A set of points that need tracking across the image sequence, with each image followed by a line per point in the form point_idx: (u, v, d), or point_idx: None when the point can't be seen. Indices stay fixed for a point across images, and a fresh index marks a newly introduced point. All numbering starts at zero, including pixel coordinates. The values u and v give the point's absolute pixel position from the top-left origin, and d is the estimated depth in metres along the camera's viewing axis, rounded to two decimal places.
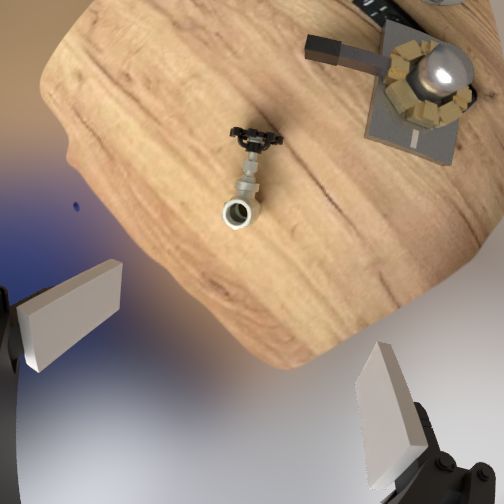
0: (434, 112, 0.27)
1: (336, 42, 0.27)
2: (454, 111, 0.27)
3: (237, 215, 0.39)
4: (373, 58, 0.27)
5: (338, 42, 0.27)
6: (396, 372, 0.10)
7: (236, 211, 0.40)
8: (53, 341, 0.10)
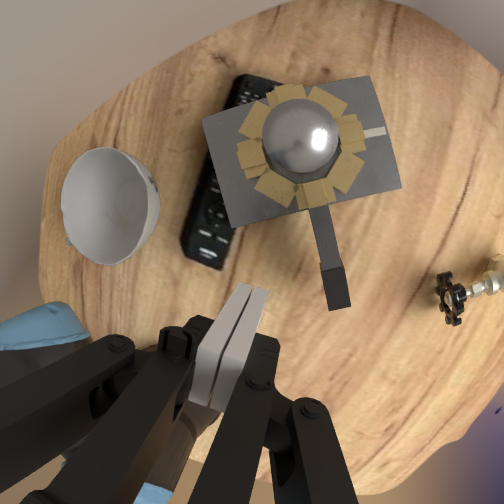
0: (349, 126, 0.23)
1: (325, 277, 0.27)
2: (319, 99, 0.23)
3: None
4: (322, 227, 0.26)
5: (324, 275, 0.27)
6: (256, 308, 0.13)
7: None
8: (219, 372, 0.11)
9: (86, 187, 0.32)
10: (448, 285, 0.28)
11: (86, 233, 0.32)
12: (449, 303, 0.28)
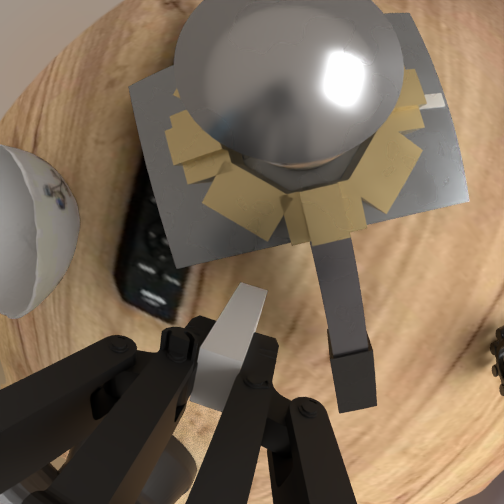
0: None
1: (337, 367, 0.14)
2: None
3: None
4: (336, 280, 0.13)
5: (335, 364, 0.14)
6: (254, 307, 0.13)
7: None
8: None
9: None
10: None
11: None
12: None
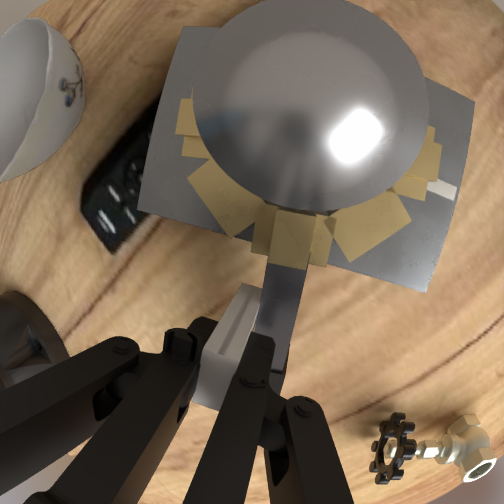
0: None
1: None
2: None
3: None
4: (277, 300, 0.14)
5: None
6: (251, 306, 0.13)
7: None
8: None
9: (16, 67, 0.15)
10: (401, 440, 0.17)
11: None
12: (387, 455, 0.18)
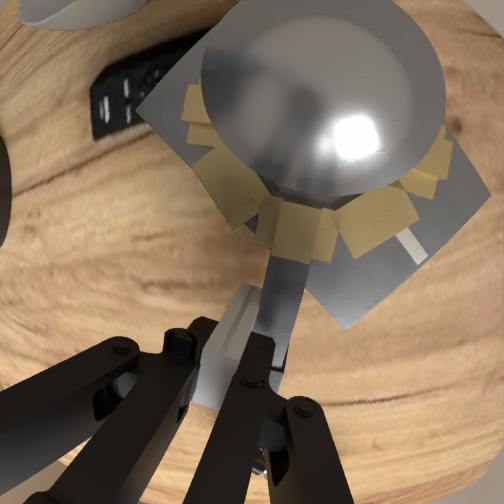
0: None
1: None
2: None
3: None
4: (279, 295, 0.13)
5: None
6: (251, 306, 0.13)
7: None
8: None
9: None
10: (257, 452, 0.19)
11: None
12: None
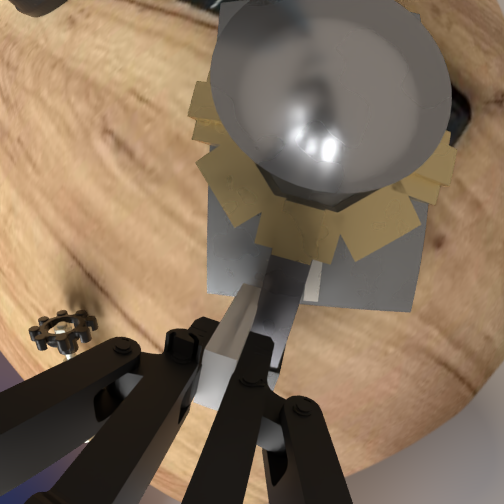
0: None
1: None
2: None
3: None
4: (278, 295, 0.13)
5: None
6: (250, 306, 0.13)
7: None
8: None
9: None
10: (72, 334, 0.20)
11: None
12: (55, 328, 0.21)
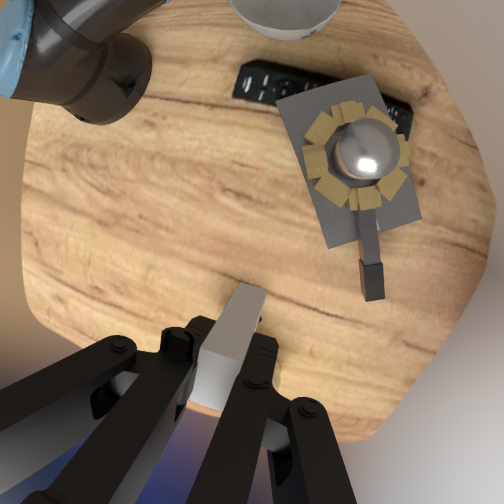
0: (399, 144, 0.26)
1: (366, 271, 0.30)
2: (375, 117, 0.27)
3: None
4: (368, 227, 0.29)
5: (365, 269, 0.30)
6: (254, 307, 0.13)
7: None
8: None
9: None
10: None
11: None
12: None
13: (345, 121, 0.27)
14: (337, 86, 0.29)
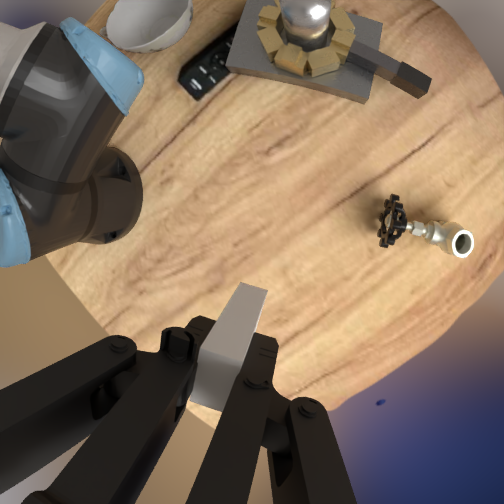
0: None
1: (402, 75, 0.26)
2: None
3: None
4: (367, 53, 0.26)
5: (400, 75, 0.26)
6: (254, 307, 0.13)
7: None
8: None
9: (140, 4, 0.30)
10: (392, 204, 0.32)
11: (119, 31, 0.31)
12: (388, 223, 0.33)
13: (275, 19, 0.26)
14: (244, 19, 0.30)
